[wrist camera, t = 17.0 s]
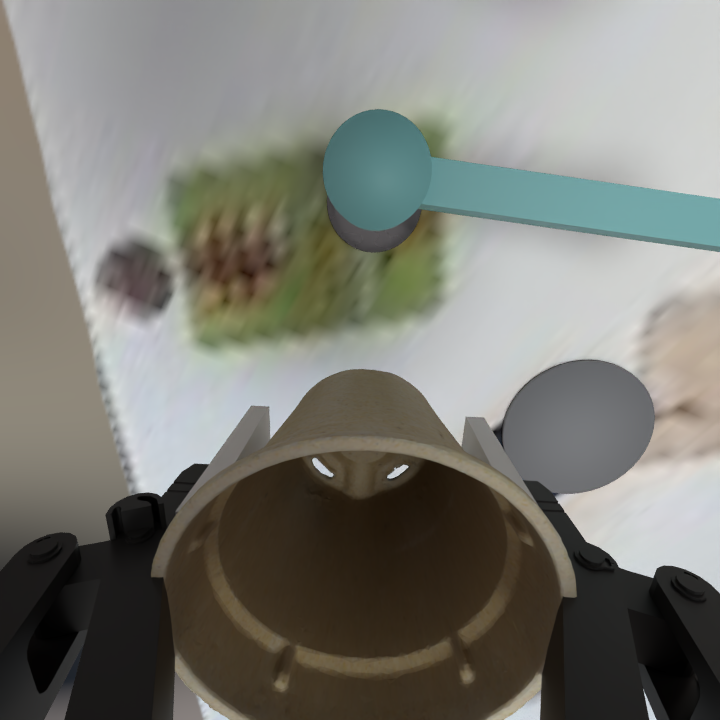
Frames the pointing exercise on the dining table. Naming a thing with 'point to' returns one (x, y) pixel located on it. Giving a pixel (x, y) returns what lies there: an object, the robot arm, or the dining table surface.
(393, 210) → the teal paddle stick
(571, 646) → the robot arm
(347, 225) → the grey pedestal stand
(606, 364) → the pad
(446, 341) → the dining table surface
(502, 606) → the flower pot
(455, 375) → the dining table surface
